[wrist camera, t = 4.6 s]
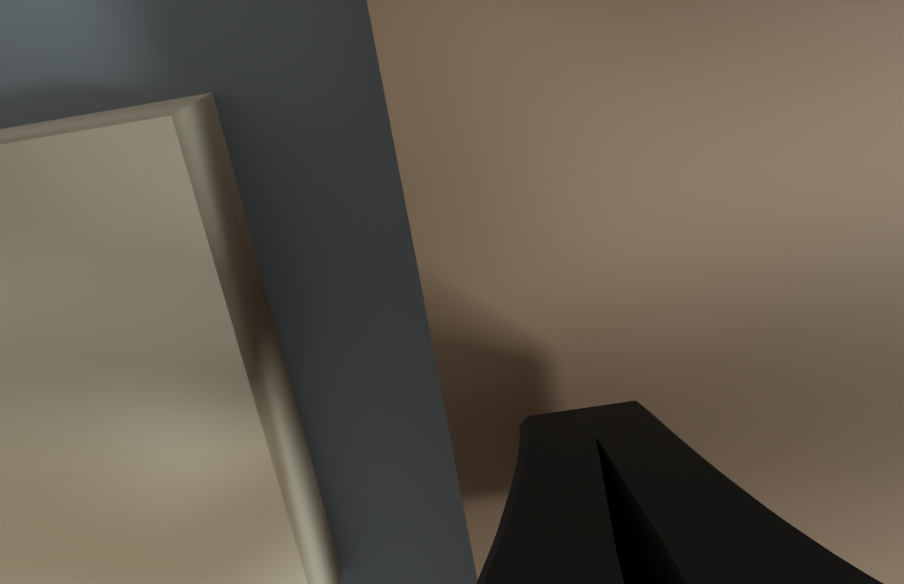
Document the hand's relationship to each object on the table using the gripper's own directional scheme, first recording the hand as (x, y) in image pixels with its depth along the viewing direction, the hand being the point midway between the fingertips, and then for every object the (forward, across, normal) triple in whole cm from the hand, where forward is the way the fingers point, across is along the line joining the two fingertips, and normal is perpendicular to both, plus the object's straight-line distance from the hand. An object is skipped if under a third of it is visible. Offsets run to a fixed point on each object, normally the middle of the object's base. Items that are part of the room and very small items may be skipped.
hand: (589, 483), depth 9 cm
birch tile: (+3, +7, 0) cm, 8 cm away
